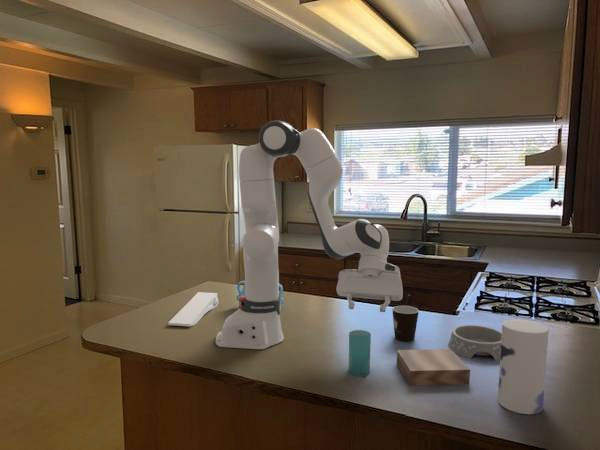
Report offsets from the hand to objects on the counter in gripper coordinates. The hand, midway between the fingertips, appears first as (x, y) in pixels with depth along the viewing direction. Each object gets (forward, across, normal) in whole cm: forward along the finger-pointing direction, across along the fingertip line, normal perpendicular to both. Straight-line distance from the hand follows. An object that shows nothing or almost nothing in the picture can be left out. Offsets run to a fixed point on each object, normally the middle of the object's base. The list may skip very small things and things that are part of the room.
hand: (366, 309), depth 141 cm
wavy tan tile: (+15, +19, +6) cm, 25 cm away
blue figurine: (-14, -48, +35) cm, 61 cm away
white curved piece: (-3, -69, +24) cm, 74 cm away
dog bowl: (-1, +33, +23) cm, 40 cm away
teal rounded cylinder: (+18, 0, +3) cm, 18 cm away
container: (+23, +40, -2) cm, 47 cm away
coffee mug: (-4, +10, +25) cm, 27 cm away
